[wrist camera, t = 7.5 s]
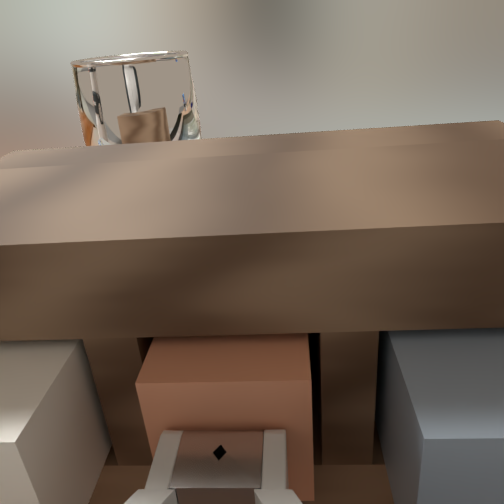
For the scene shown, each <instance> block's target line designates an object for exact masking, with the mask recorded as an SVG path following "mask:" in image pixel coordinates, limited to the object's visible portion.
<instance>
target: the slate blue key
mask: <svg viewBox="0 0 504 504" xmlns="http://www.w3.org/2000/svg"><path fill="white" fill-rule="evenodd" d="M375 423H376V427H377V431H378V436H379V440H380V444H381V449H382V453H383V457H384V462H385V466H386V470H387V475H388V479H389V483H390V488H391V492H392V496H393V501H394V504H504V328H469V329H432V330H396V331H379V342H378V362H377V381H376V400H375Z"/></svg>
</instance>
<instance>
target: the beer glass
mask: <svg viewBox="0 0 504 504" xmlns="http://www.w3.org/2000/svg"><path fill="white" fill-rule="evenodd" d="M71 66H72V71H73V78H74V83H75V91H76V99H77V105H78V111H79V118H80V123H81V128H82V133H83V138H84V142H85V146H99V145H115V144H131V143H147V142H162V141H178V140H194V139H202V137H201V126H200V120H199V112H198V105H197V100H196V95H195V89H194V84H193V79H192V75H191V70H190V65H189V59H188V52H187V51H162V52H147V53H136V54H124V55H114V56H105V57H96V58H89V59H82V60H76V61H72V62H71Z"/></svg>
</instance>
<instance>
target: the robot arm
mask: <svg viewBox="0 0 504 504" xmlns="http://www.w3.org/2000/svg"><path fill="white" fill-rule="evenodd" d="M124 504H303V503H302V502H301V501H300V499H299V498H298V496H297V495H296V494H295V492H294V491H293V490H292V489H289V482H288V462H287V443H286V430H285V429H274V430H265V431H264V430H224V431H203V430H184V431H183V430H164V431H163V432H162V434H161V435H160V438H159V441H158V445H157V448H156V452H155V455H154V458H153V462H152V465H151V468H150V472H149V475H148V479H147V482H146V485H145V489H138V490H137V491H136V492H135V493H134V494H133V495H132V496H131V497H130V498H129V499H128V500H127V501H126V502H125V503H124Z"/></svg>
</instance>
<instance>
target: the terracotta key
mask: <svg viewBox="0 0 504 504" xmlns="http://www.w3.org/2000/svg"><path fill="white" fill-rule="evenodd" d="M135 385H136V390H137V394H138V398H139V402H140V407H141V411H142V415H143V419H144V424H145V428H146V432H147V436H148V441H149V445H150V449H151V453H152V458H154V455H155V452H156V448H157V445H158V441H159V438H160V435H161V434H162V432H163V431H164V430H183V431H184V430H203V431H224V430H264V431H265V430H274V429H285V430H286V443H287V462H288V482H289V489H292V490H293V491H294V492H295V494H296V495H297V496H298V498H299V499H300V501H314V463H313V424H312V385H311V369H310V357H309V344H308V333H285V334H248V335H212V336H175V337H154V338H153V340H152V343H151V345H150V348H149V350H148V353H147V355H146V358H145V360H144V363H143V365H142V368H141V370H140V373H139V375H138V377H137V380H136V382H135Z"/></svg>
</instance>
